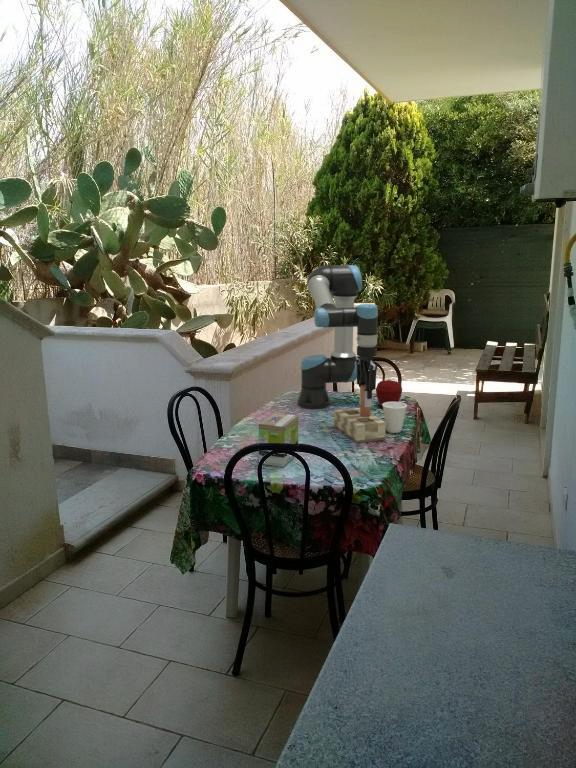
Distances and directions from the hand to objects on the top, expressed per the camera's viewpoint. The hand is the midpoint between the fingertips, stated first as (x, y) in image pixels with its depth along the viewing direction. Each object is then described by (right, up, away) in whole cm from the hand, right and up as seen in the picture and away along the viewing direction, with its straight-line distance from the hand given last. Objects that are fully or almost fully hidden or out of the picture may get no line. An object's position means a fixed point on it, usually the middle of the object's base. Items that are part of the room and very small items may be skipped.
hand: (365, 405), depth 227 cm
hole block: (-2, -11, +8) cm, 14 cm away
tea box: (-33, -19, -19) cm, 42 cm away
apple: (+17, -3, +45) cm, 48 cm away
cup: (+13, -11, +10) cm, 20 cm away
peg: (0, -4, +1) cm, 4 cm away
